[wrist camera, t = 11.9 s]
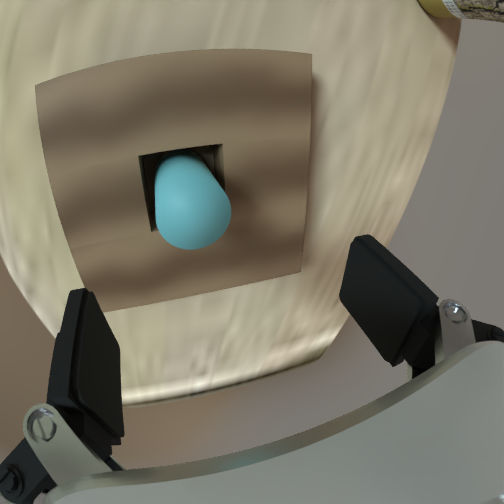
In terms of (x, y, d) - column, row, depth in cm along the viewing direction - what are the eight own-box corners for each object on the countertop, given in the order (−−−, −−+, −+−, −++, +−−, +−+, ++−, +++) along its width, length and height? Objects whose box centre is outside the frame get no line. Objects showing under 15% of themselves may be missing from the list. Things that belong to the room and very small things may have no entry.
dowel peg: (151, 153, 21) (149, 186, 14) (203, 145, 22) (229, 174, 15) (158, 201, 24) (162, 255, 17) (207, 193, 25) (233, 242, 18)
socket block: (53, 85, 15) (34, 85, 12) (289, 57, 20) (311, 53, 17) (100, 287, 26) (96, 313, 23) (284, 251, 31) (300, 271, 28)
